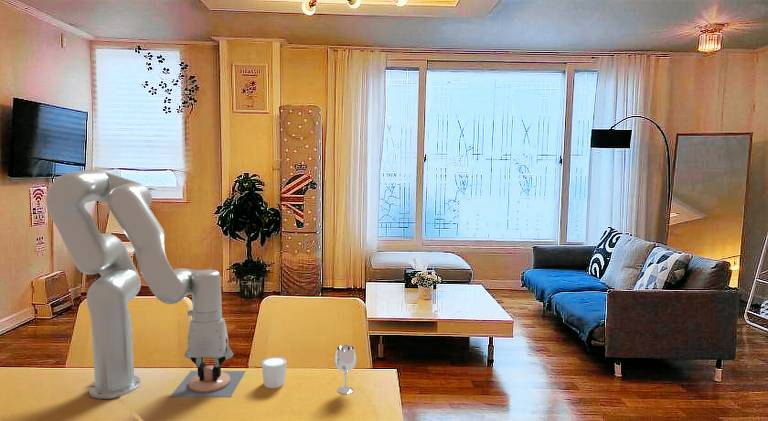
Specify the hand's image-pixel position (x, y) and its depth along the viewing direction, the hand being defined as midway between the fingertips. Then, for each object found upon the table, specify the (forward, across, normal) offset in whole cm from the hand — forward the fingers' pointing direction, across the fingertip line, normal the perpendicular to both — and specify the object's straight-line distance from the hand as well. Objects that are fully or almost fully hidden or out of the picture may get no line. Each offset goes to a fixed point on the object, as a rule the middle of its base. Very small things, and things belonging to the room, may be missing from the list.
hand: (209, 378), depth 145 cm
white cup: (+2, +18, 0) cm, 18 cm away
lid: (+1, 0, 0) cm, 1 cm away
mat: (+2, 0, 0) cm, 2 cm away
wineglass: (+2, +38, -2) cm, 38 cm away
